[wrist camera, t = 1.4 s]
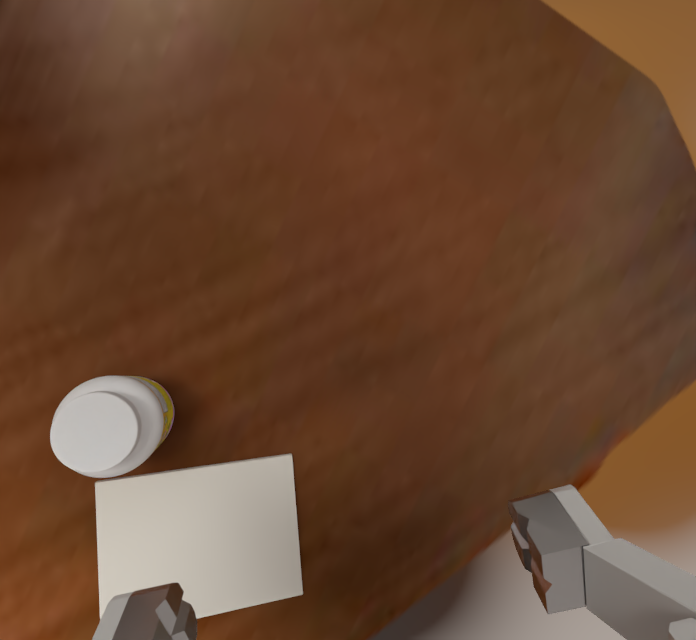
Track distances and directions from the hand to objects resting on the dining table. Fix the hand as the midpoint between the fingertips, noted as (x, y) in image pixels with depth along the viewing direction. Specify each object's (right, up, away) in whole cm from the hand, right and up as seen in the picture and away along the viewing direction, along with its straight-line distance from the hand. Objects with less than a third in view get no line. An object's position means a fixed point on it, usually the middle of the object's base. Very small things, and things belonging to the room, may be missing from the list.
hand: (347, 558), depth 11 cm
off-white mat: (-12, -13, +28) cm, 33 cm away
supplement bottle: (-18, -2, +28) cm, 34 cm away
